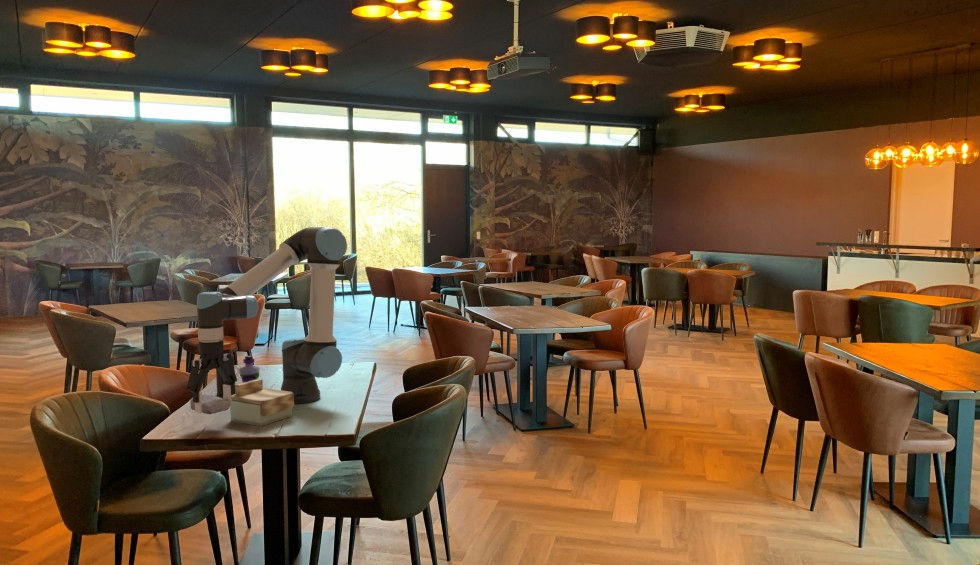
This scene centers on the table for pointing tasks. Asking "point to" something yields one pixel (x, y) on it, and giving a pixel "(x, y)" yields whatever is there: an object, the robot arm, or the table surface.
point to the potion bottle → (249, 370)
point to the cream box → (254, 414)
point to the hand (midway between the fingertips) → (213, 408)
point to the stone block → (212, 404)
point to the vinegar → (218, 378)
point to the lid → (263, 397)
